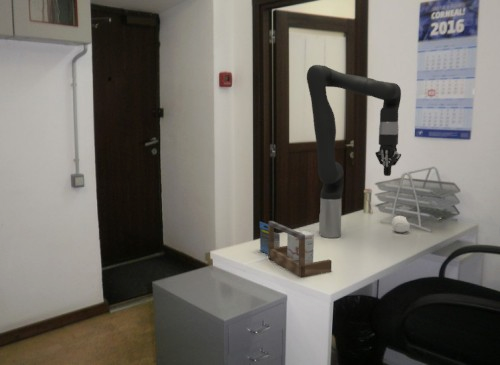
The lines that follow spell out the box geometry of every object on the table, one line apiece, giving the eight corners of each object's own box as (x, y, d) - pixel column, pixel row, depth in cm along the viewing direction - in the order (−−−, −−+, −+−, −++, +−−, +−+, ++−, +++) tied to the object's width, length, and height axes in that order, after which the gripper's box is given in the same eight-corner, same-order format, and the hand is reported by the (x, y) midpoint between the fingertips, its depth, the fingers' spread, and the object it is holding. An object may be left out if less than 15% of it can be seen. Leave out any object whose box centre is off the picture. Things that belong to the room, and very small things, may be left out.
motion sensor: (412, 234, 207) (412, 217, 206) (396, 235, 206) (396, 218, 205) (404, 229, 215) (404, 213, 214) (388, 230, 214) (389, 214, 213)
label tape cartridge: (280, 254, 181) (280, 224, 179) (272, 256, 179) (272, 225, 177) (267, 249, 188) (267, 219, 186) (259, 250, 186) (259, 221, 184)
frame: (268, 258, 176) (268, 221, 174) (296, 253, 182) (296, 217, 179) (301, 277, 156) (301, 235, 153) (331, 271, 161) (331, 230, 159)
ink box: (292, 268, 165) (292, 236, 164) (286, 263, 170) (286, 232, 168) (313, 264, 168) (314, 233, 167) (307, 260, 173) (307, 230, 171)
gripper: (370, 132, 190) (369, 174, 193) (393, 134, 178) (391, 178, 181) (384, 132, 193) (383, 173, 196) (407, 133, 181) (406, 176, 184)
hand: (387, 175), depth 188 cm, fingers closed
